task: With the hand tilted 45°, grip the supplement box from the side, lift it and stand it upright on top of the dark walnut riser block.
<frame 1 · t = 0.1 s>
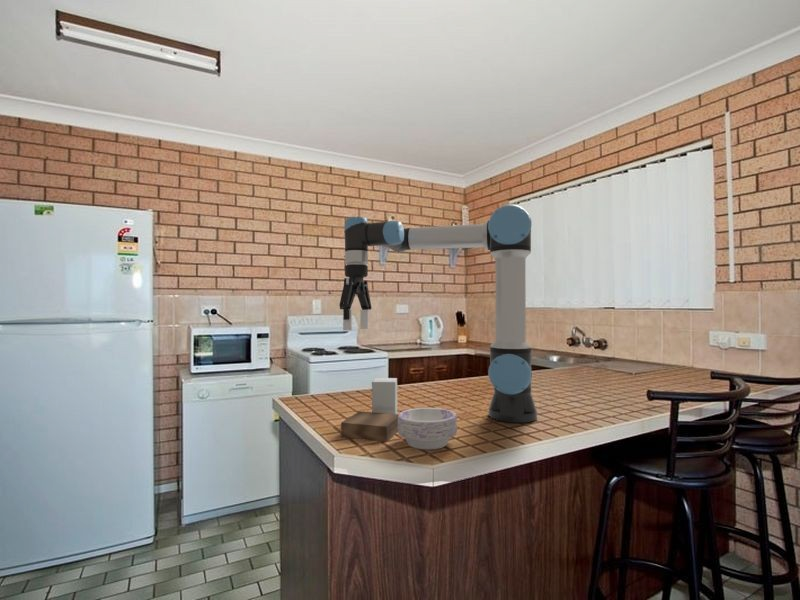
hand: (356, 329, 139), 28 cm above the table, tool pointing down, fingers open, 13 cm apart
paper bowls: (427, 445, 110), on the table
supplement box: (384, 420, 133), on the table
walnut riser: (372, 432, 120), on the table
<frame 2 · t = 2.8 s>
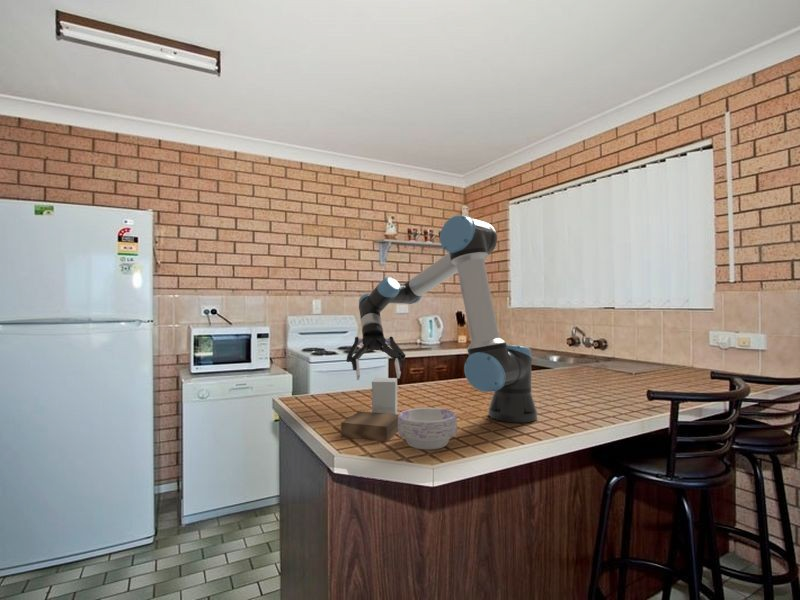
hand: (379, 376, 141), 12 cm above the table, tool tilted 45°, fingers open, 13 cm apart
nothing on the table moved.
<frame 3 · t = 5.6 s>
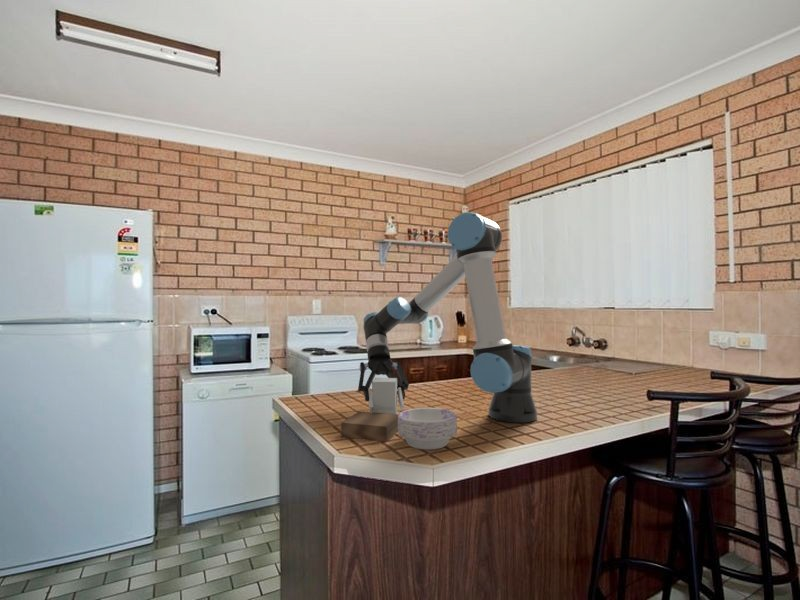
hand: (387, 408, 130), 4 cm above the table, tool tilted 45°, fingers closed on supplement box, 9 cm apart
supplement box: (385, 420, 133), on the table, touching gripper
everything else where it was.
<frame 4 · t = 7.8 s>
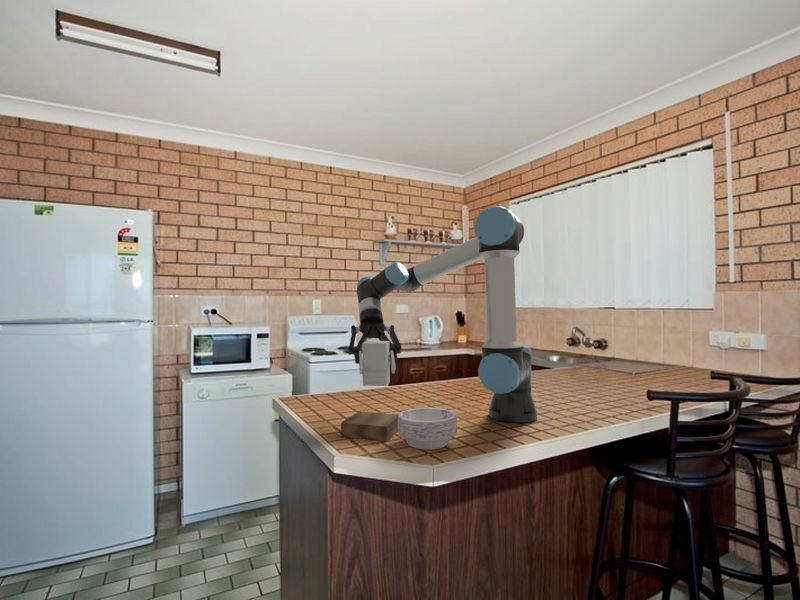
hand: (377, 371, 125), 17 cm above the table, tool tilted 45°, fingers closed on supplement box, 9 cm apart
supplement box: (376, 384, 128), point 12 cm above the table, touching gripper
everything else where it was.
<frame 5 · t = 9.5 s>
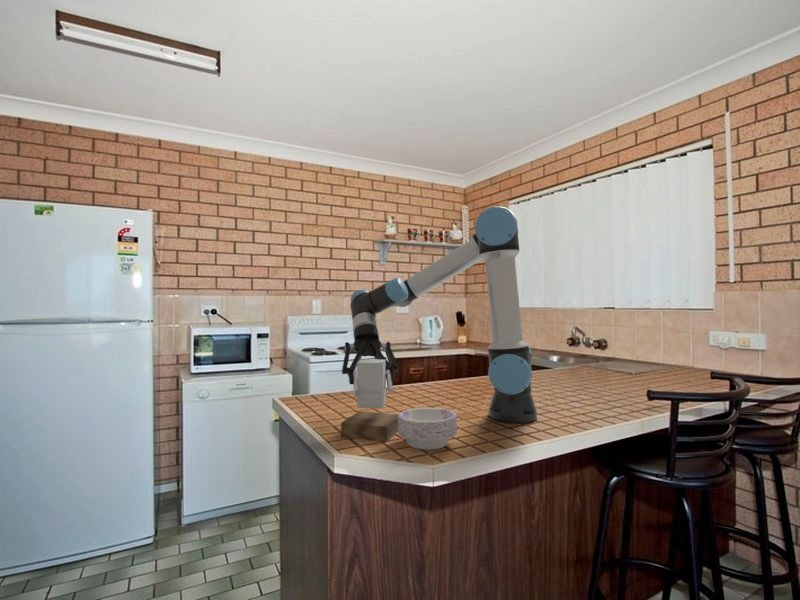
hand: (373, 392, 117), 12 cm above the table, tool tilted 45°, fingers closed on supplement box, 9 cm apart
supplement box: (371, 406, 120), point 7 cm above the table, touching gripper
everything else where it was.
when the fingers open (10 cm above the table, at t = 10.5 s): supplement box drops 1 cm, resting on walnut riser.
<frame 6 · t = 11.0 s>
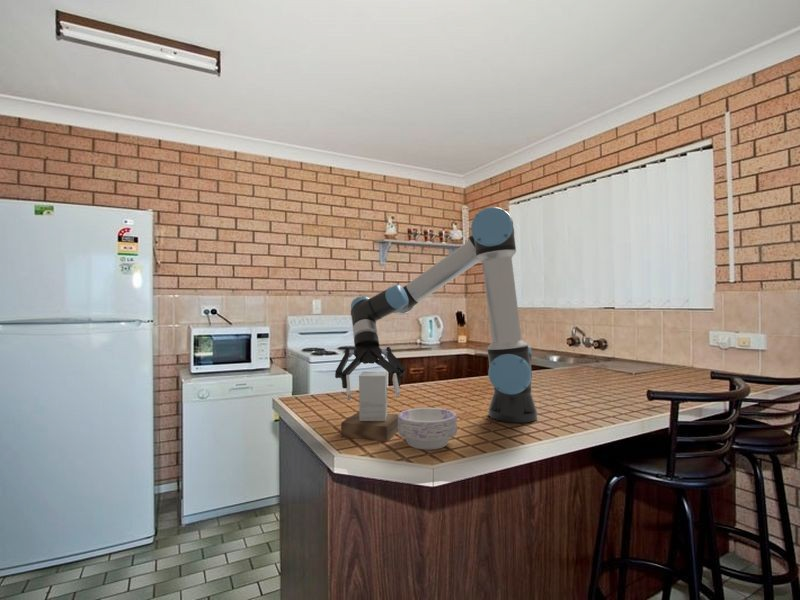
hand: (373, 396, 117), 11 cm above the table, tool tilted 45°, fingers open, 13 cm apart
supplement box: (373, 419, 120), point 4 cm above the table, touching walnut riser
everything else where it was.
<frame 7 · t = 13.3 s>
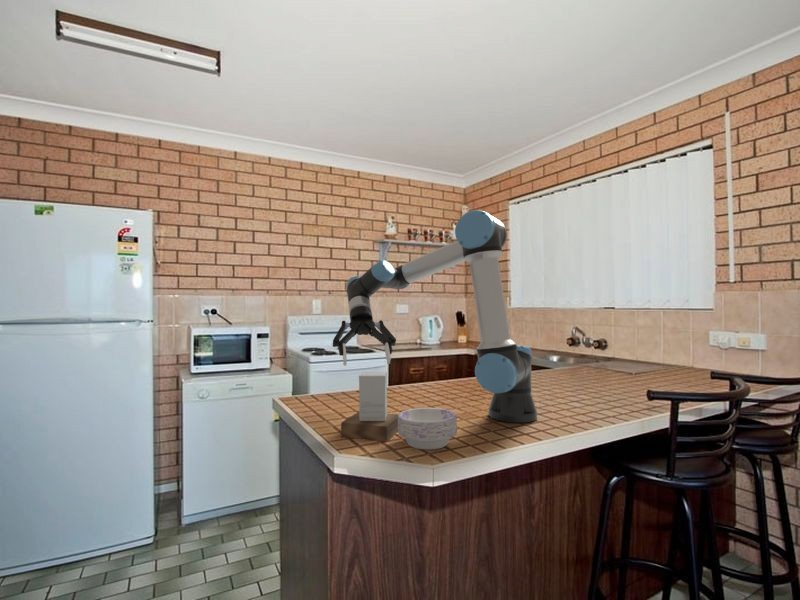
hand: (367, 362, 131), 18 cm above the table, tool tilted 45°, fingers open, 13 cm apart
nothing on the table moved.
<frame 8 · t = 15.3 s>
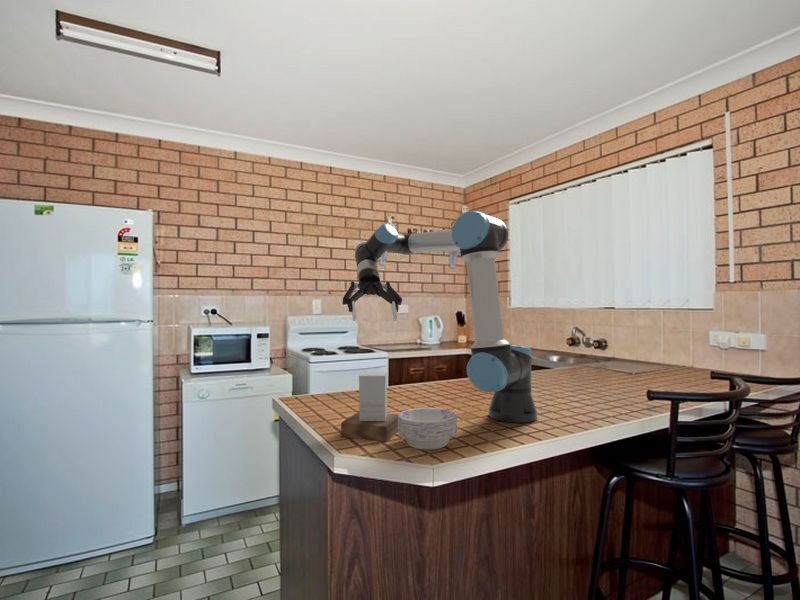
hand: (375, 318, 139), 32 cm above the table, tool tilted 45°, fingers open, 13 cm apart
nothing on the table moved.
at the end: supplement box inside the target area on the walnut riser (0.4 cm from its centre), point 3.8 cm above the walnut riser's base; supplement box tilted 0°; the gripper is holding nothing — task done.
